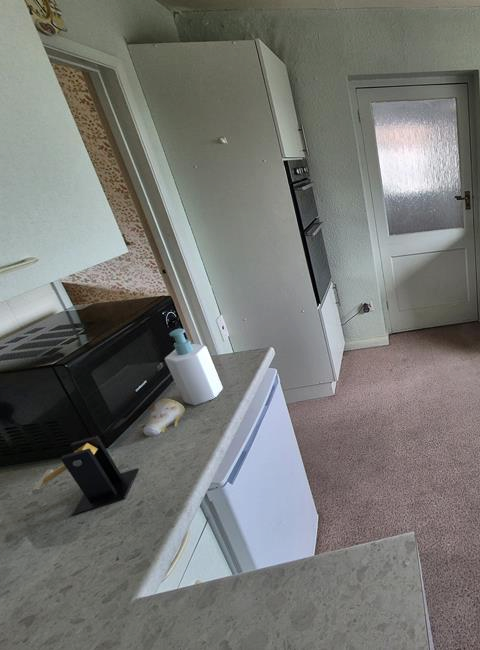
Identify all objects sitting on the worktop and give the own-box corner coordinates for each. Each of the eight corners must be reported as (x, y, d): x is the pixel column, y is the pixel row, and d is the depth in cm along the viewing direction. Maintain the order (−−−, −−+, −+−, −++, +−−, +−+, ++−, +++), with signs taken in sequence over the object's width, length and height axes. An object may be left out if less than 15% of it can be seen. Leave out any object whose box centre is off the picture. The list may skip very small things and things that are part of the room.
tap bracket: (75, 519, 78) (39, 470, 73) (94, 487, 86) (63, 440, 80) (127, 502, 81) (97, 454, 76) (141, 472, 89) (114, 426, 83)
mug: (137, 443, 99) (132, 404, 100) (174, 432, 108) (169, 397, 109) (157, 439, 97) (152, 400, 98) (194, 429, 106) (188, 393, 107)
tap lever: (39, 496, 76) (26, 491, 75) (53, 476, 81) (41, 471, 79) (89, 461, 77) (78, 455, 76) (101, 443, 82) (90, 437, 81)
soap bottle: (221, 382, 122) (197, 320, 113) (224, 395, 115) (198, 331, 106) (184, 395, 117) (155, 331, 108) (184, 410, 110) (153, 343, 101)
